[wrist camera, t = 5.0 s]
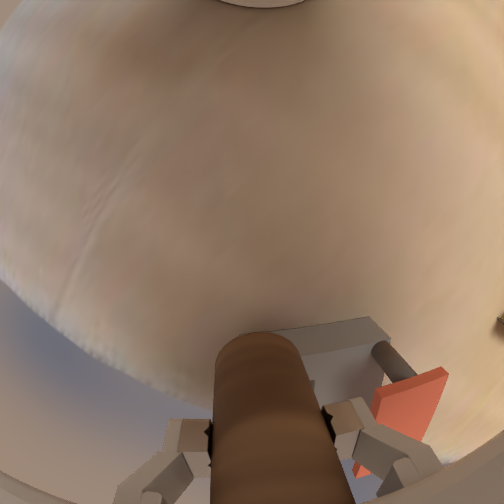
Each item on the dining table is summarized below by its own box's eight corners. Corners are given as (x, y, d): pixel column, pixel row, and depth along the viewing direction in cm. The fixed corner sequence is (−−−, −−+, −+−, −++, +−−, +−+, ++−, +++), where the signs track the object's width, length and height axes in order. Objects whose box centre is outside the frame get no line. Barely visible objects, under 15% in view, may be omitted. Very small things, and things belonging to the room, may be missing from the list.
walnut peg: (209, 336, 12) (192, 578, 2) (301, 326, 12) (397, 545, 2) (221, 401, 13) (224, 589, 3) (300, 392, 13) (356, 570, 3)
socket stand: (239, 334, 28) (245, 424, 16) (384, 313, 29) (448, 373, 17) (249, 415, 31) (257, 497, 19) (371, 393, 32) (411, 458, 20)
